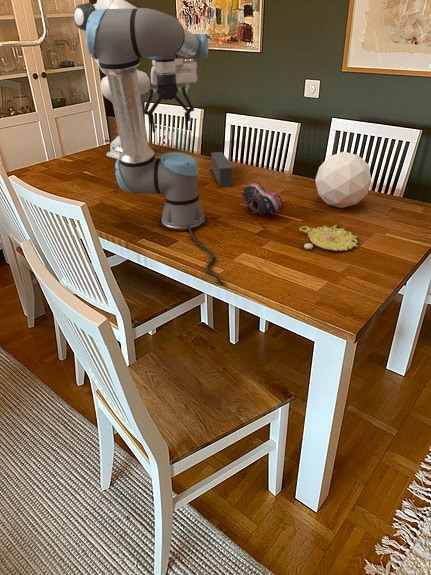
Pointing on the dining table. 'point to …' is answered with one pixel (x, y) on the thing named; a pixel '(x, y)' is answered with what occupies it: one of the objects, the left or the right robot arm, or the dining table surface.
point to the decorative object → (330, 238)
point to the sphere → (343, 179)
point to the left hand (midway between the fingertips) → (175, 94)
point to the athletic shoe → (261, 200)
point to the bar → (221, 169)
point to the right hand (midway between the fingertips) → (170, 130)
